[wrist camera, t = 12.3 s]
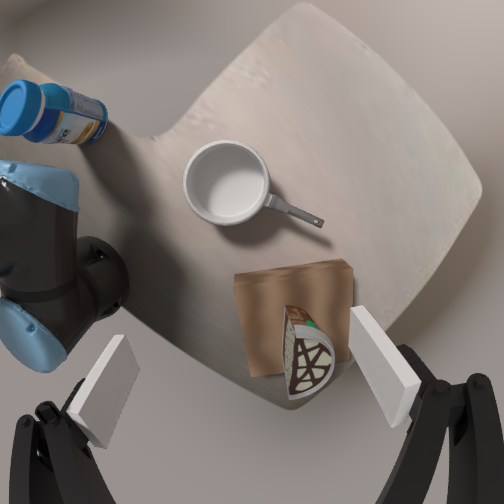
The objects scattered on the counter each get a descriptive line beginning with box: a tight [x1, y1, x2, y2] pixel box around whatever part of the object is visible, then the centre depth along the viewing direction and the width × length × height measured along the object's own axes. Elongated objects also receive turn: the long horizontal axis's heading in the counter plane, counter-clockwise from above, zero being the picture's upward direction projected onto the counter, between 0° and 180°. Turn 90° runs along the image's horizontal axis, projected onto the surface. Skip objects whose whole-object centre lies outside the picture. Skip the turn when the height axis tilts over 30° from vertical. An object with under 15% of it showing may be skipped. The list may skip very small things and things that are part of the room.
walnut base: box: [234, 259, 353, 377], centre depth 44 cm, size 18×18×5 cm
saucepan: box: [183, 140, 324, 228], centre depth 38 cm, size 12×20×6 cm, turn 67°
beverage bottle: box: [0, 80, 108, 145], centre depth 26 cm, size 8×8×20 cm
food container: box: [281, 305, 335, 400], centre depth 37 cm, size 12×6×10 cm, turn 0°
